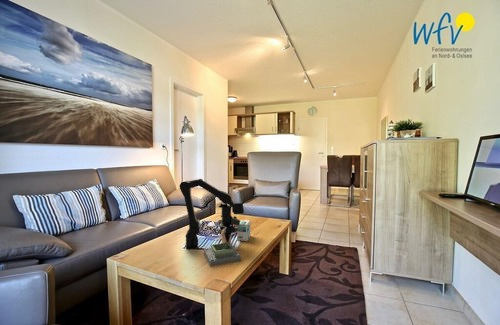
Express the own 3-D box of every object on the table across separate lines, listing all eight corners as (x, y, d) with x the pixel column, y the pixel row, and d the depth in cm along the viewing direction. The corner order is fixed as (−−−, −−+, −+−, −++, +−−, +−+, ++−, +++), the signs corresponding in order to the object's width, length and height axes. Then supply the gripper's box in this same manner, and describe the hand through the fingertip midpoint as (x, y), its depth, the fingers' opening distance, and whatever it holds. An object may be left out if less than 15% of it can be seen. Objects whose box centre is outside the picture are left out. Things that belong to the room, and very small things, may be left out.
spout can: (223, 247, 139) (223, 231, 138) (220, 243, 144) (220, 228, 144) (234, 245, 141) (234, 229, 141) (232, 242, 147) (232, 227, 146)
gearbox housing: (210, 266, 115) (210, 255, 115) (203, 253, 130) (203, 243, 130) (240, 260, 121) (240, 250, 121) (231, 248, 136) (231, 239, 136)
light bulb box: (247, 241, 148) (247, 224, 148) (236, 240, 150) (236, 223, 149) (250, 235, 159) (250, 219, 158) (240, 235, 160) (240, 219, 160)
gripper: (244, 216, 136) (244, 243, 137) (234, 209, 153) (234, 233, 154) (225, 218, 132) (225, 246, 132) (217, 211, 149) (217, 235, 150)
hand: (226, 239), depth 142 cm, fingers closed on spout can, 5 cm apart
